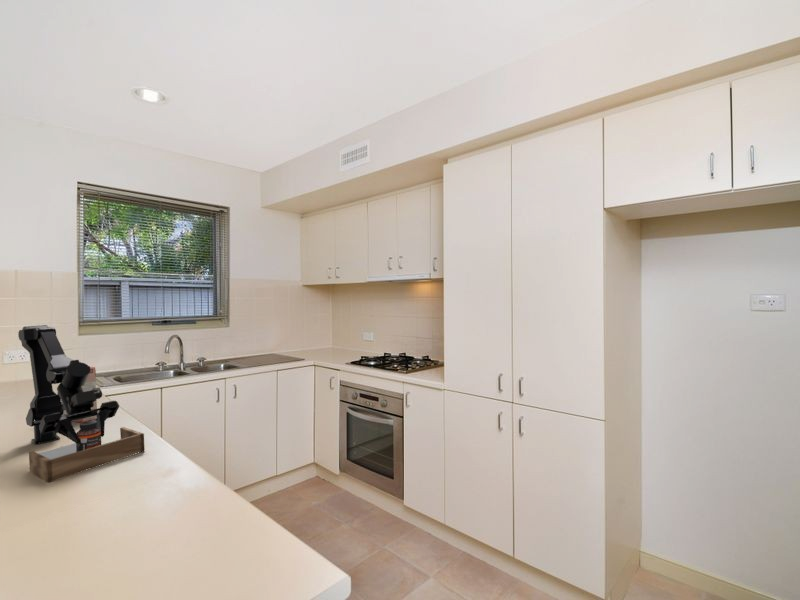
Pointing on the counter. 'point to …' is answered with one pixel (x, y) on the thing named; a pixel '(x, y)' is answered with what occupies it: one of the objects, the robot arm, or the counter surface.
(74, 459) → the open wooden enclosure
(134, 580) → the counter surface
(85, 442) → the supplement bottle
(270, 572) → the counter surface
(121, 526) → the counter surface
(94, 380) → the cracker box
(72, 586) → the counter surface
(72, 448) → the mat
